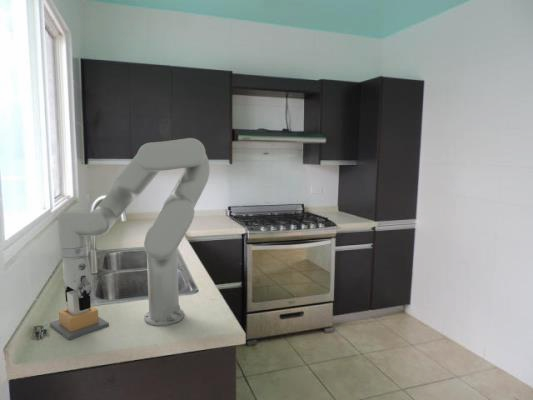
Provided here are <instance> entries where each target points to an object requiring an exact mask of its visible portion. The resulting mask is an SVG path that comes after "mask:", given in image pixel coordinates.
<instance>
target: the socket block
mask: <svg viewBox="0 0 533 400" xmlns="http://www.w3.org/2000/svg"><path fill="white" fill-rule="evenodd" d="M49 326H50V327H51V328H53V330H55V331H56V332H57V333H59V334H60V335H62V336H63V337H64V338H65V339H67V340H68V341H70V340H73V339H76V338H78V337H81V336H84V335H87V334H90V333H92V332H93V333H94V332H95V331H98V330H101V329H103V328H106V327H109V326H110V325H109V321H107V320H105V319H103V318H102V317H100V316H99V309H97V308H95V307H94V306H92V305H91V307H90V308H89V311H88V312H85V313H82V314H79V315H76V316H71V315H70V314H68V308H65V309H62V310H59V311H58V320H53V321H51V322H49Z"/></svg>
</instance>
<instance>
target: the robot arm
mask: <svg viewBox="0 0 533 400" xmlns="http://www.w3.org/2000/svg"><path fill="white" fill-rule="evenodd" d="M178 169H182V173H181V174H180V176H179V177H178V180H177V182H176V184H175V186H174V188H173V189H172V191H171V193H170V194H169V196H168V197H167V198H166V200H164V202H163V205H162V208H161V211H160V212H159V214H158V216H157V217H156V219H155V220H154V223H153V225H151V226H150V227H149V228H148V230H147V232H146V234H145V239H144V242H143V246H144V251H145V253H146V262H147V263H146V264H147V265H146V269H147V295H148V312H146V313H145V315H144V322H145V323H146V324H148V325H151V326H155V327H162V326H163V327H164V326H169V325H173V324H176V323H178V322H180V321H181V320H183V318H184V316H185V311H184V310H183V309H182V308H181V306H180V301H179V300H180V299H179V296H180V295H179V274H178V273H179V272H178V271H179V268H178V267H179V266H178V265H179V263H178V248H179V246H180V244H181V242H182V241H183V239H184V237H185V236H186V233H188V230H189V228H190V227H191V225H192V222H193V219H194V217H195V208H196V205H197V204H198V201H199V199H200V197H201V196H202V194H203V192H204V189H206V186H207V183H208V181H209V178H210V161H209V158H208V155H207V153H206V148H205V146H204V144H203V142H201V141H200V140H198V139H196V138H193V137H187V138H181V139H179V138H178V139H174V140H165V141H155V142H147V143H144V144H143V145H141V146H140V147H139V149H138V151H137V153H136V154H135V155H134V157H133V158H132V159H131V161H129V163H128V164H127V165H126V166H125V168H124V169H123V170H122V171H121V173H120V174H118V176H117V177H116V178H115V180H114V183H113V184H112V185H113V186H112V187H111V189H110V190H109V192H108V193H107V195H106V196H105V197H104V198H103V199H102V201H101V202H100V203H99V204H98V205H97V206H96V208H94V210H92V211H90V212H84V211H81V210H67V211H62V212H60V213H59V214H58V215H57V222H58V224H57V225H58V237H59V254H60V259H61V260H62V277H63V283H64V286H63V288H64V294H65V302H66V303H68V302H67V292H70V291H73V290H76V291H78V293H79V296H80V298H79V310H80V311H82V310H85V309H89V308H90V307H91V306H92V305H91V303H92V302H91V295H92V294H91V293H92V290H91V288H92V286H93V282H92V272H91V265H90V261H89V257H88V256H89V248H88V236H90V237H101V236H103V235H106V234H107V233H108V232H109V231H110V230H111V228H112V227H113V226H114V225H115V224H116V222H117V221H118V219H119V218H120V217H121V216H122V215H123V213H125V211H126V210H127V208H129V206H130V205H132V203H133V202H134V201H135V200H137V199H138V198H139V197H140V196H141V195H142V193H143V192H144V191H145V189H146V188H147V187H148V186H149V185H150V184H151V182H152V181H153V179H155V177H157V175H158V174H159V172H163V171H171V170H178ZM81 290H84V291H83V293H82V291H81Z"/></svg>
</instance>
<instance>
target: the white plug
mask: <svg viewBox="0 0 533 400" xmlns="http://www.w3.org/2000/svg"><path fill="white" fill-rule="evenodd" d="M84 290H85V289H84ZM84 290H81V291H82V293H83V291H84ZM79 298H80V296H79V293H78V291H76V290H73V291H70V292H67V302H66V303H67V309H68V314H70V315H71V316H76V315H79V314H82V313H85V312H88V311H89V309H85V310H82V311H80V310H79Z"/></svg>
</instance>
